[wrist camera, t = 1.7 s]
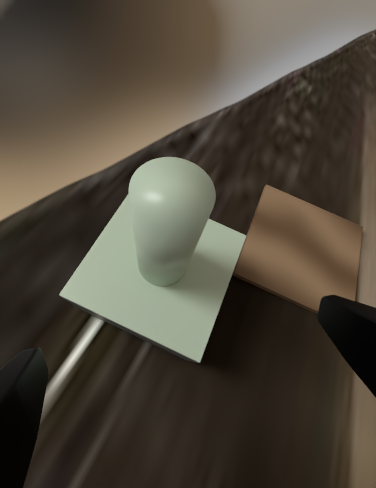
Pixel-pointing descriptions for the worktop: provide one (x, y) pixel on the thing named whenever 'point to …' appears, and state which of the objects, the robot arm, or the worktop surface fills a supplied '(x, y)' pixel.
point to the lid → (161, 259)
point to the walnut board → (299, 251)
